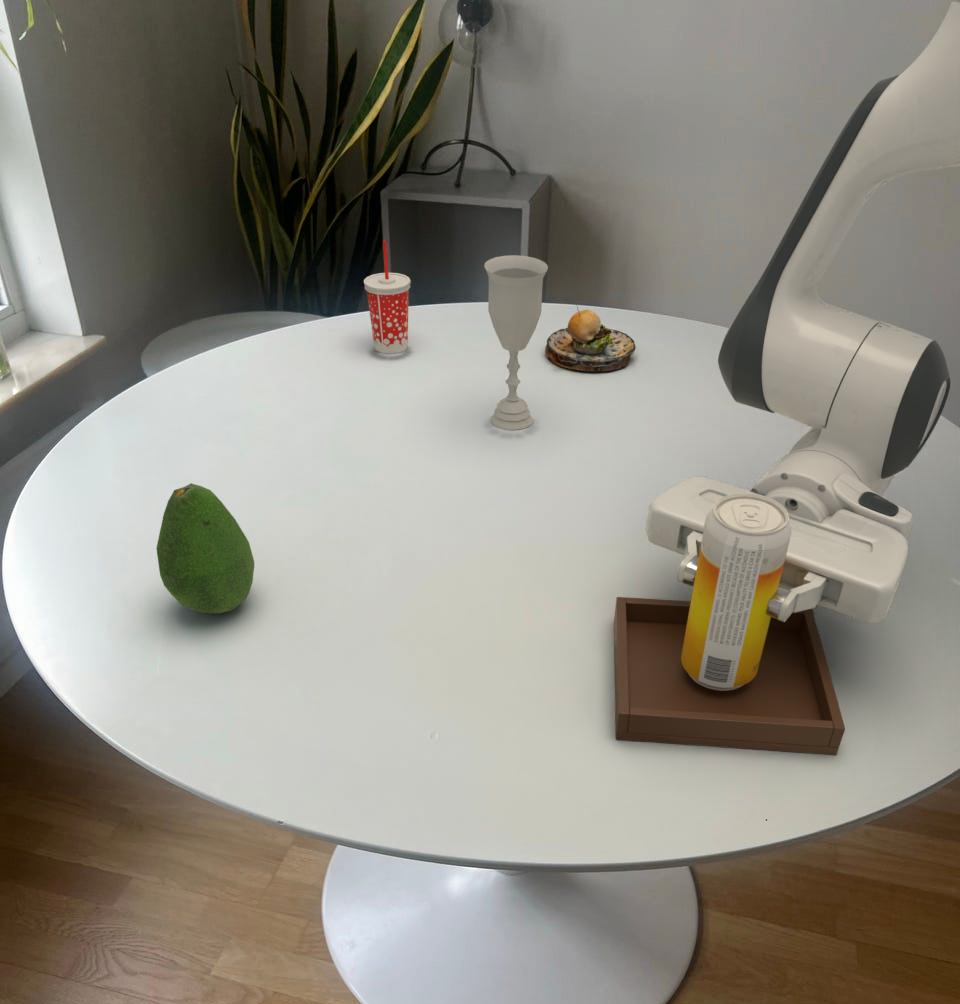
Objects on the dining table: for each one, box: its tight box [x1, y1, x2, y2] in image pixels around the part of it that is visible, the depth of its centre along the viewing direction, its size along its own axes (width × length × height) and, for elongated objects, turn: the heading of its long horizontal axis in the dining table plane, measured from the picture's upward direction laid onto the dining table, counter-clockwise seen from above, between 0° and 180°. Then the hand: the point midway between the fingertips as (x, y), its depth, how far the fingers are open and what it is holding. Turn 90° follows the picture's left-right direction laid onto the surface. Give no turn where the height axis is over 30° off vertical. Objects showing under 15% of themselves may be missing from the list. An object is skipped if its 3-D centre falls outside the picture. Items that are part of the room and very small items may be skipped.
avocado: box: [156, 482, 255, 615], centre depth 83 cm, size 8×8×12 cm
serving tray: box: [613, 596, 846, 756], centre depth 78 cm, size 17×15×3 cm
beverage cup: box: [363, 239, 412, 355], centre depth 127 cm, size 6×6×14 cm
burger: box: [545, 303, 637, 372], centre depth 127 cm, size 12×12×8 cm
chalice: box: [483, 254, 549, 431], centre depth 109 cm, size 7×7×18 cm
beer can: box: [681, 493, 792, 691], centre depth 73 cm, size 6×6×15 cm
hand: (730, 593), depth 72 cm, fingers closed on beer can, 6 cm apart
